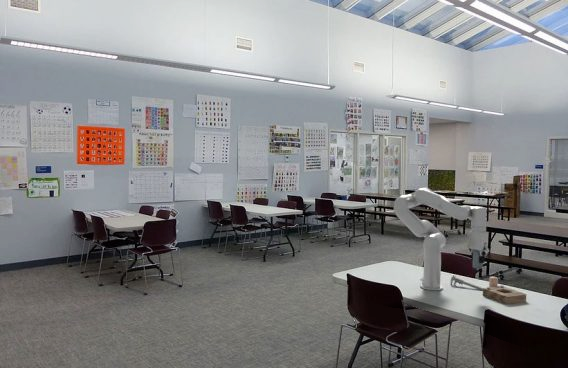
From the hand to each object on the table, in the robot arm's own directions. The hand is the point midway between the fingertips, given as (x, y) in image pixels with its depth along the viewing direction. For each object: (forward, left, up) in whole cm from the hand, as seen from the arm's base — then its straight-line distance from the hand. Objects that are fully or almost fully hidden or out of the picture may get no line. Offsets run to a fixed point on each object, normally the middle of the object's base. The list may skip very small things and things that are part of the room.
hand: (477, 261), depth 240 cm
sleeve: (0, 0, -4) cm, 4 cm away
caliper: (-14, +8, -20) cm, 26 cm away
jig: (+8, +12, -20) cm, 24 cm away
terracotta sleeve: (-4, +17, -20) cm, 26 cm away
